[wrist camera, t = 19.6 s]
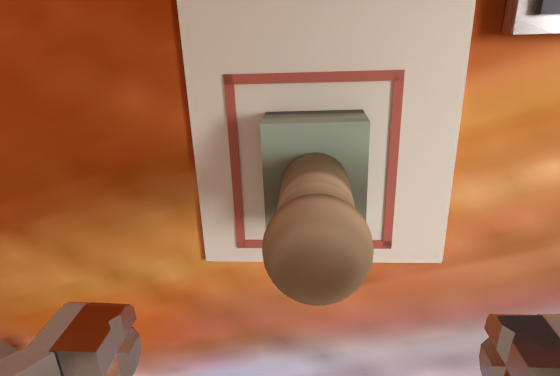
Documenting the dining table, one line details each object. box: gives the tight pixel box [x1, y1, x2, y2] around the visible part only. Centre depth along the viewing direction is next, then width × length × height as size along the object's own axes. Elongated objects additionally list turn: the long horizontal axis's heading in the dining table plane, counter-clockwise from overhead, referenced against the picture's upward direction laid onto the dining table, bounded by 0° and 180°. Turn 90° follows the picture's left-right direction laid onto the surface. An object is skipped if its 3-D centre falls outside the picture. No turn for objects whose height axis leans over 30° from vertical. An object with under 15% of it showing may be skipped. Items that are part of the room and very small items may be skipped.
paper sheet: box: [177, 0, 476, 263], centre depth 21 cm, size 22×14×1 cm, turn 2°
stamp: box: [260, 109, 374, 306], centre depth 18 cm, size 6×5×11 cm
